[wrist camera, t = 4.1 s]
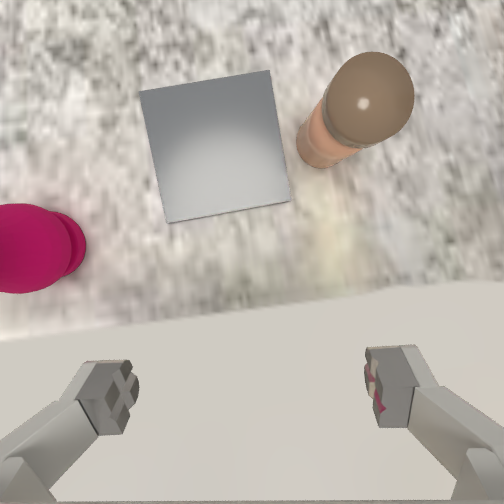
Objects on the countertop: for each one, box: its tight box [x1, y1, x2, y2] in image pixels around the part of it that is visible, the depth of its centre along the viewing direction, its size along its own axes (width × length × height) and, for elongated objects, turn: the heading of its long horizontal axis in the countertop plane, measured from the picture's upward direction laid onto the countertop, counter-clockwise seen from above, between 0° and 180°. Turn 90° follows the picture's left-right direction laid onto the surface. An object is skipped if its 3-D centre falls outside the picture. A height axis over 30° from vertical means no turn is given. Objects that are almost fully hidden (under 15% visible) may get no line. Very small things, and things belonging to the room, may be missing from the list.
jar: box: [296, 52, 414, 168], centre depth 26 cm, size 5×5×11 cm
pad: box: [139, 70, 292, 223], centre depth 30 cm, size 12×12×1 cm
